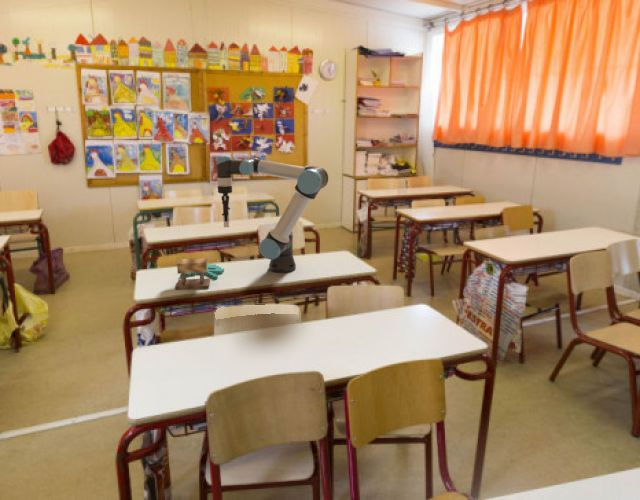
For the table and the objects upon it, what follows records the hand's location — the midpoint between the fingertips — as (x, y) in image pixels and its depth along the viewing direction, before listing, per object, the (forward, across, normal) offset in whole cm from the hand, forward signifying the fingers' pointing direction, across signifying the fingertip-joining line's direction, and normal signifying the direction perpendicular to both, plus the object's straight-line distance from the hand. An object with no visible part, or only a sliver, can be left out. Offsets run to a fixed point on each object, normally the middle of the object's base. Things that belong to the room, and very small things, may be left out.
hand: (226, 224), depth 264 cm
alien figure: (+27, +2, -13) cm, 30 cm away
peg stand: (+26, +22, -18) cm, 38 cm away
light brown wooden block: (+18, +22, -17) cm, 33 cm away
